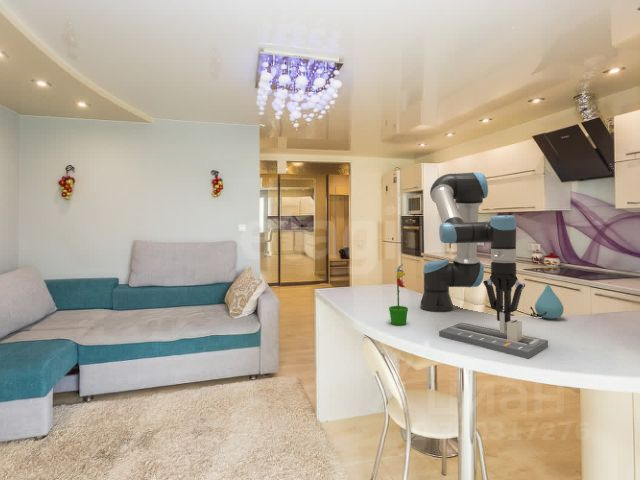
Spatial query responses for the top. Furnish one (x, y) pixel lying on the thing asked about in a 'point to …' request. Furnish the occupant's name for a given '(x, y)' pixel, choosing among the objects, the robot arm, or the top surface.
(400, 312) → the potted flower
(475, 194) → the robot arm
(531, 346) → the console
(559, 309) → the toy
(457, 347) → the top surface
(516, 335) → the fader tab
